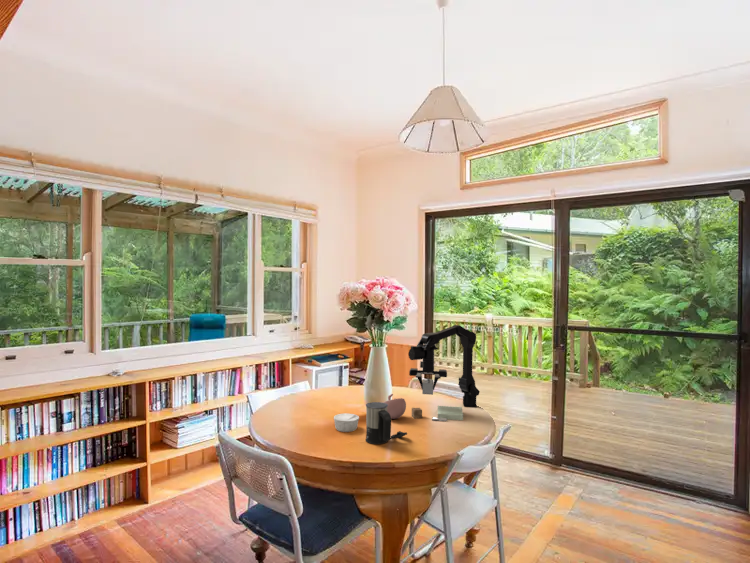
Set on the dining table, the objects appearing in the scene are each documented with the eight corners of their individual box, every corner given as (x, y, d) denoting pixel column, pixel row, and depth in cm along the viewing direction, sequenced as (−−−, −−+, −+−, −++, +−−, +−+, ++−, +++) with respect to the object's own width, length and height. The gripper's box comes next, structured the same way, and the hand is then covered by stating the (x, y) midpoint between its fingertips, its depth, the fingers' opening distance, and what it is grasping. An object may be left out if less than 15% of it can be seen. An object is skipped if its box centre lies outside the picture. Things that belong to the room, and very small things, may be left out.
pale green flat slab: (461, 411, 226) (461, 406, 226) (463, 420, 212) (463, 414, 212) (437, 410, 228) (437, 405, 228) (437, 418, 214) (437, 413, 214)
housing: (433, 390, 229) (433, 378, 229) (432, 394, 221) (433, 382, 221) (423, 390, 230) (423, 378, 230) (422, 394, 222) (422, 381, 222)
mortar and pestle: (397, 413, 222) (398, 390, 222) (410, 420, 211) (411, 395, 211) (376, 416, 216) (376, 392, 216) (388, 423, 206) (388, 398, 206)
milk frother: (360, 440, 183) (361, 404, 183) (385, 431, 195) (385, 397, 195) (386, 449, 174) (387, 411, 174) (411, 439, 185) (412, 403, 185)
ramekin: (360, 432, 193) (360, 420, 193) (334, 433, 191) (334, 421, 191) (357, 424, 204) (357, 412, 204) (332, 425, 202) (332, 413, 202)
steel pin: (447, 420, 212) (447, 417, 211) (447, 422, 210) (447, 419, 210) (432, 419, 213) (432, 416, 212) (432, 421, 212) (432, 419, 211)
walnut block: (419, 415, 219) (419, 407, 219) (422, 418, 215) (422, 410, 215) (411, 416, 218) (411, 408, 218) (414, 418, 214) (414, 410, 214)
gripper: (446, 356, 232) (446, 386, 232) (410, 355, 235) (410, 385, 235) (447, 360, 221) (446, 392, 221) (409, 359, 224) (409, 390, 224)
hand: (427, 389), depth 225 cm, fingers closed on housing, 5 cm apart
